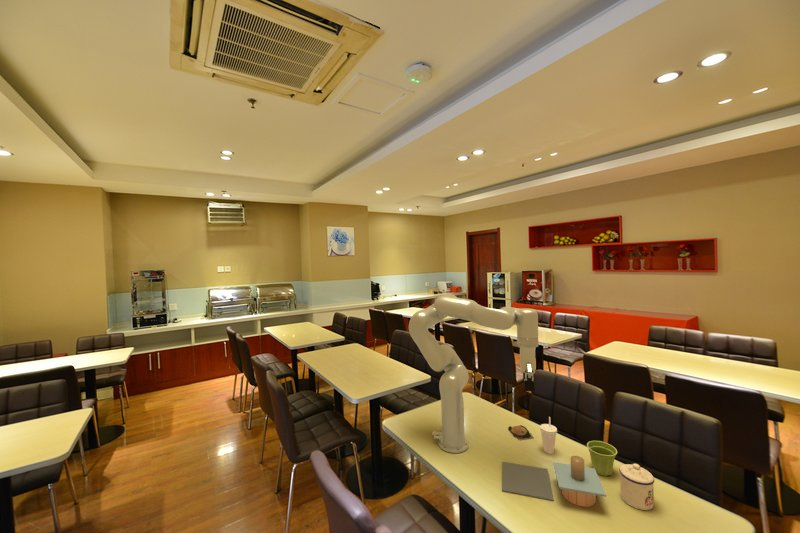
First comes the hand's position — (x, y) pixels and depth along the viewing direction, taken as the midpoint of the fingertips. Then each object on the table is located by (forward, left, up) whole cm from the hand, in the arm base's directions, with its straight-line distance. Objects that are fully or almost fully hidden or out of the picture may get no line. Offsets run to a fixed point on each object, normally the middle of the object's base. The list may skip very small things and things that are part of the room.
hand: (528, 385), depth 122 cm
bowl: (+14, -13, -30) cm, 36 cm away
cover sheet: (+14, -13, -25) cm, 31 cm away
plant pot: (+25, +3, -31) cm, 40 cm away
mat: (-2, -10, -30) cm, 32 cm away
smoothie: (+8, +11, -31) cm, 33 cm away
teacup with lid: (+32, -9, -31) cm, 45 cm away
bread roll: (-2, +22, -31) cm, 38 cm away
